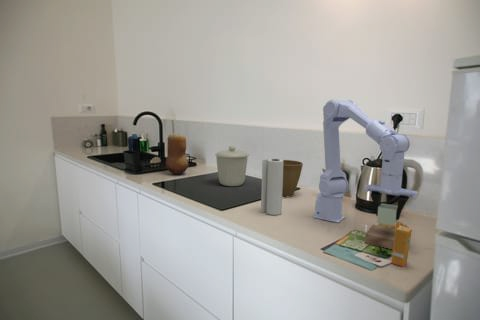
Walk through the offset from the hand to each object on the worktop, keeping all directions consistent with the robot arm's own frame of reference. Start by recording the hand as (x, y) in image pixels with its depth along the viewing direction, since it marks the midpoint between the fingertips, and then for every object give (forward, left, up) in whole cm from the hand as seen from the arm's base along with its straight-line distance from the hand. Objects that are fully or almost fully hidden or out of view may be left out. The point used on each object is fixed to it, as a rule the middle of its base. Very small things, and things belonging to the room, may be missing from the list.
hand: (387, 217), depth 98 cm
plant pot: (-50, +30, -8) cm, 59 cm away
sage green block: (0, 0, -2) cm, 2 cm away
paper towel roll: (-42, +3, -8) cm, 43 cm away
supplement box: (+6, -13, -8) cm, 17 cm away
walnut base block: (0, 0, -8) cm, 8 cm away
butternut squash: (-125, +31, -8) cm, 129 cm away
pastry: (-1, +13, -9) cm, 16 cm away
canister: (-83, +31, -8) cm, 89 cm away
